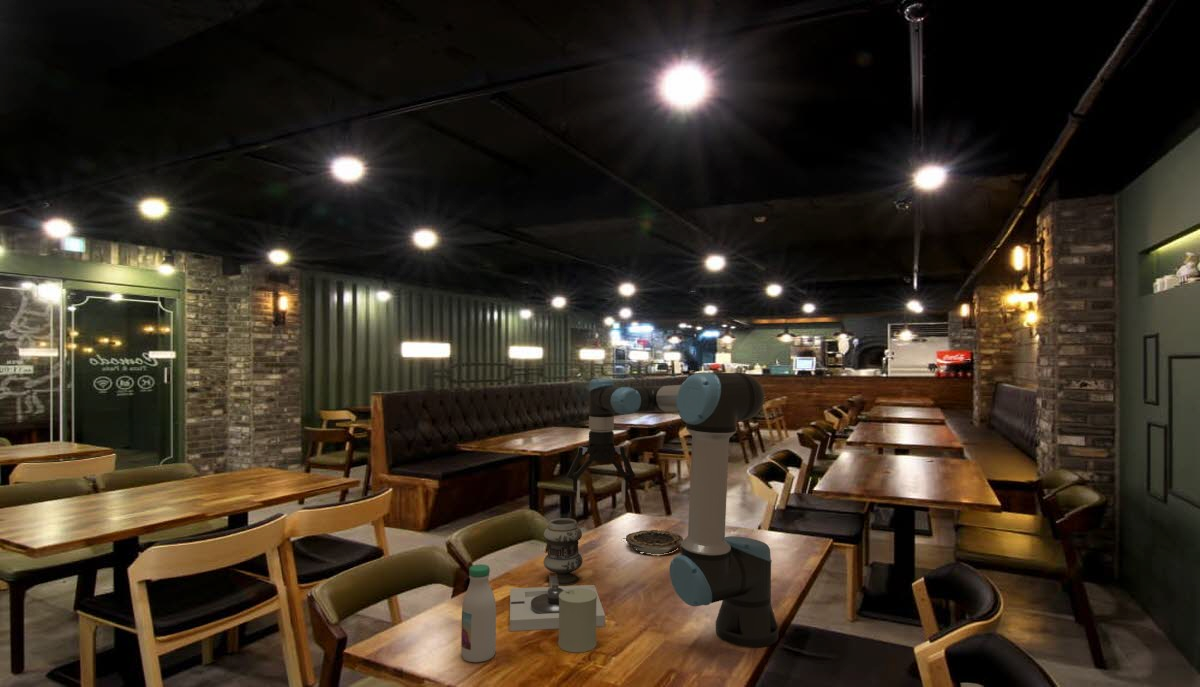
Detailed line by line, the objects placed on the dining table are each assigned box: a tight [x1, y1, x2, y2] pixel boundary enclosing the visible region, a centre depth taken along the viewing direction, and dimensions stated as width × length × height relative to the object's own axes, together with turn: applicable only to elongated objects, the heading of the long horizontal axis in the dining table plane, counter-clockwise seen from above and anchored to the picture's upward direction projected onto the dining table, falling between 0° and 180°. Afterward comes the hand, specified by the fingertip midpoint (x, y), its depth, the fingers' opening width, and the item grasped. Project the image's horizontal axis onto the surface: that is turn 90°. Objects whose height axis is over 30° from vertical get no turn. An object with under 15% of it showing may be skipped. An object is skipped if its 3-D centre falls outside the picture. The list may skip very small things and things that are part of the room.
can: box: [557, 588, 598, 654], centre depth 149 cm, size 9×9×12 cm
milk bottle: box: [460, 563, 497, 663], centre depth 143 cm, size 8×8×20 cm
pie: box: [622, 529, 684, 554], centre depth 226 cm, size 28×27×5 cm
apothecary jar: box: [543, 517, 583, 586], centre depth 193 cm, size 12×12×18 cm
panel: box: [509, 584, 606, 632], centre depth 168 cm, size 22×24×3 cm
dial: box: [531, 572, 563, 614], centre depth 170 cm, size 16×13×6 cm
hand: (600, 501), depth 188 cm, fingers open, 13 cm apart
